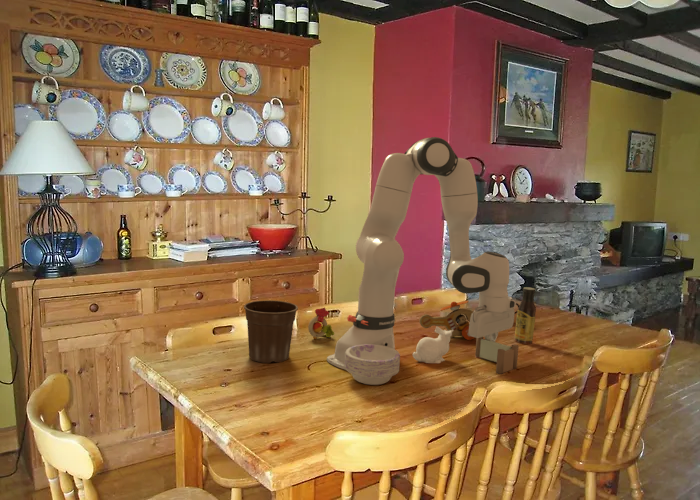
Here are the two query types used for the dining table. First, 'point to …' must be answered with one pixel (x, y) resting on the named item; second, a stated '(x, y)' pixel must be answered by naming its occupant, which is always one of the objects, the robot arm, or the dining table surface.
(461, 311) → the toy helicopter
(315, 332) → the bird rattle
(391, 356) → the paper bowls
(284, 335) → the plant pot
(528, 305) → the sauce bottle
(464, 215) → the robot arm
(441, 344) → the rabbit
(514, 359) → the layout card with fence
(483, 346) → the sage gate panel
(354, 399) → the dining table surface
